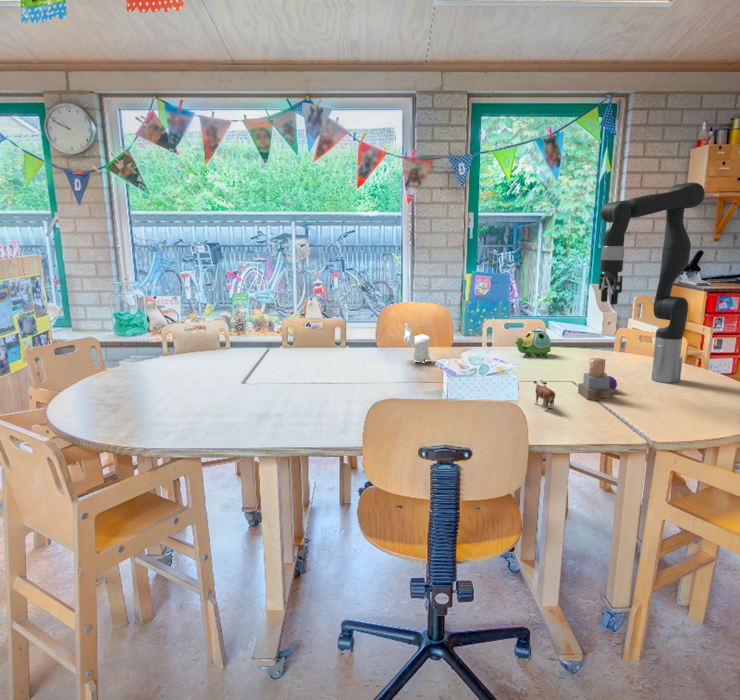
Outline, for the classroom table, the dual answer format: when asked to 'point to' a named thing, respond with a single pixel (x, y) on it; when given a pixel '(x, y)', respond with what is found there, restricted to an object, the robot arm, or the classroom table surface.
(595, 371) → the terracotta cylinder
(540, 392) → the bull figurine
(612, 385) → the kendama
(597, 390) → the bottom block
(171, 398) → the classroom table surface
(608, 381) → the top block
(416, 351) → the toy animal
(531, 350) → the turtle holder
